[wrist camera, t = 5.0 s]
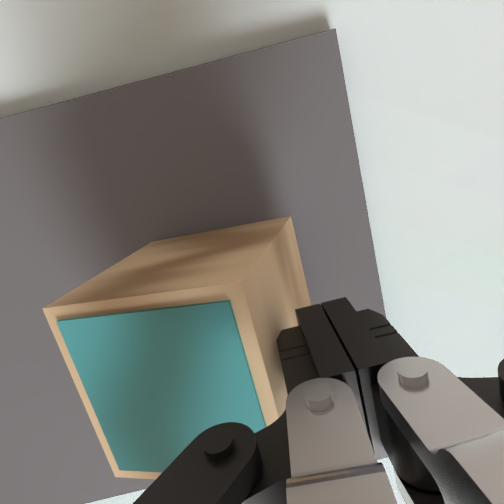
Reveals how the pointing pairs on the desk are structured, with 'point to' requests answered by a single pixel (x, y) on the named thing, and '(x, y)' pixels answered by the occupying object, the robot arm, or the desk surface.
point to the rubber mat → (161, 221)
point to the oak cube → (182, 340)
